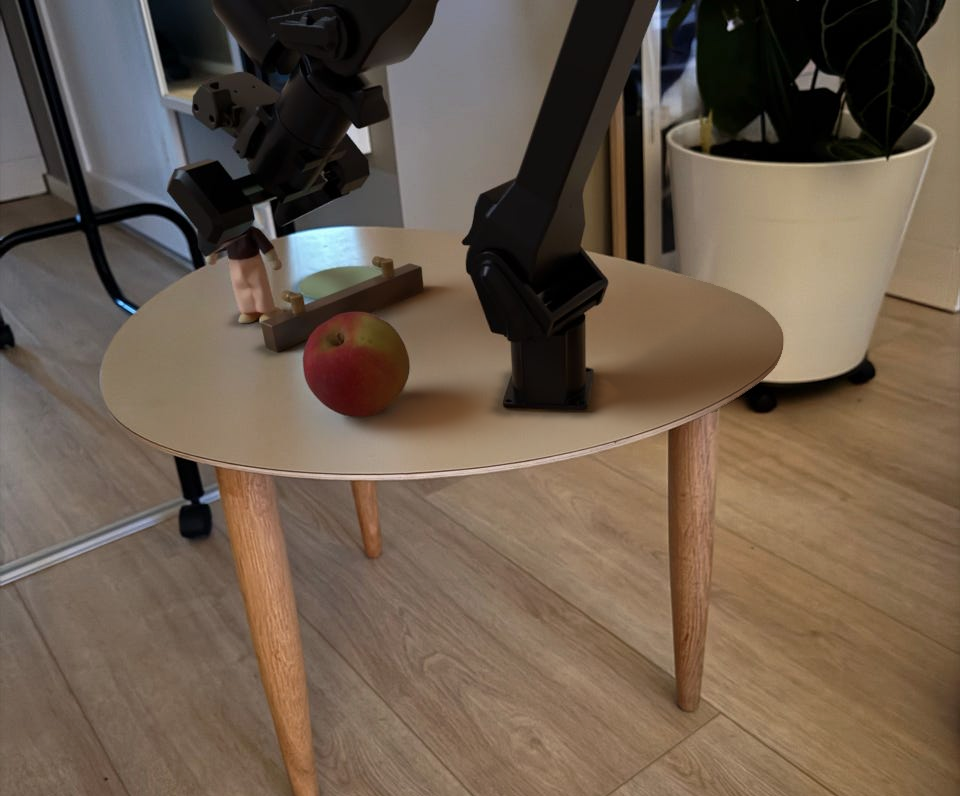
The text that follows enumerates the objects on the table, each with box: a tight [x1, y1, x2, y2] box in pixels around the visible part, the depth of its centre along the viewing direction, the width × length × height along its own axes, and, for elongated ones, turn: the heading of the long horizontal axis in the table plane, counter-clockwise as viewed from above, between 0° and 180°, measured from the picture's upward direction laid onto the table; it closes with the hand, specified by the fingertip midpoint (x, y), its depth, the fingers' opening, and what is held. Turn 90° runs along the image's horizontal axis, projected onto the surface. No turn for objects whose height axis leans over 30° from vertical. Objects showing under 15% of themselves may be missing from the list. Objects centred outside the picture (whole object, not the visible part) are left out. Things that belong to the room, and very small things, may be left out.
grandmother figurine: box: [205, 225, 285, 324], centre depth 88 cm, size 8×4×13 cm, turn 84°
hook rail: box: [260, 255, 425, 353], centre depth 92 cm, size 19×13×4 cm
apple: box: [302, 312, 411, 418], centre depth 71 cm, size 8×8×8 cm
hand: (241, 236), depth 86 cm, fingers open, 9 cm apart
